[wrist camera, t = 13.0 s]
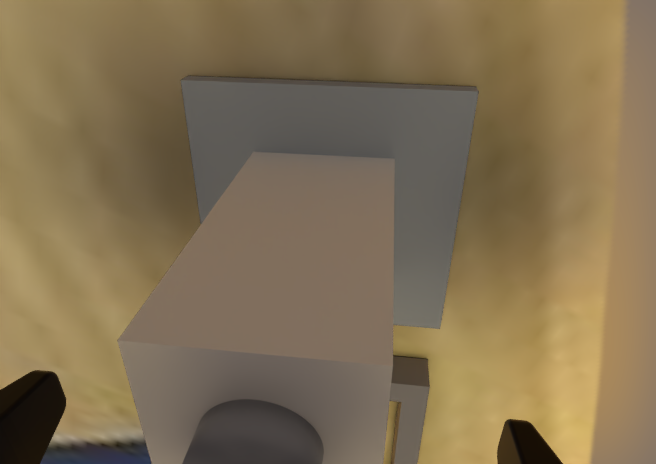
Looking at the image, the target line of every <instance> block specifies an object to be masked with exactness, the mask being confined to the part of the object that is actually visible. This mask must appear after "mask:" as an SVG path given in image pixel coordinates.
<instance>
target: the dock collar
mask: <svg viewBox="0 0 656 464" xmlns="http://www.w3.org/2000/svg"><path fill="white" fill-rule="evenodd" d="M429 388H430V385H429V372H428V359H419V358H409V357H398V356H393V370H392V380H391V390H390V400H389V401H397V402H398V407H397V415H396V424H395V432H394V441H393V449H392V458H391V464H417V462H418V456H419V450H420V444H421V437H422V431H423V425H424V419H425V413H426V406H427V400H428V394H429Z"/></svg>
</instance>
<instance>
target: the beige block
mask: <svg viewBox="0 0 656 464" xmlns="http://www.w3.org/2000/svg"><path fill="white" fill-rule="evenodd" d="M394 177H395V159H391V158H371V157H351V156H331V155H310V154H290V153H270V152H253V153H252V154H251V156H250V157H249V158H248V160H247V161H246V163H245V164H244V165H243V167H242V168H241V169H240V171H239V172H238V174H237V175H236V176H235V178H234V179H233V181H232V182H231V183H230V185H229V186H228V188H227V189H226V190H225V192H224V193H223V194H222V196H221V197H220V199H219V200H218V201H217V203H216V204H215V206H214V207H213V208H212V210H211V211H210V213H209V214H208V215H207V217H206V218H205V220H204V221H203V222H202V224H201V225H200V226H199V228H198V229H197V231H196V232H195V233H194V235H193V236H192V238H191V239H190V240H189V242H188V243H187V245H186V246H185V247H184V249H183V250H182V251H181V253H180V254H179V256H178V257H177V258H176V260H175V261H174V263H173V264H172V265H171V267H170V268H169V270H168V271H167V272H166V274H165V275H164V277H163V278H162V279H161V281H160V282H159V283H158V285H157V286H156V288H155V289H154V290H153V292H152V293H151V295H150V296H149V297H148V299H147V300H146V302H145V303H144V304H143V306H142V307H141V309H140V310H139V311H138V313H137V314H136V315H135V317H134V318H133V320H132V321H131V322H130V324H129V325H128V327H127V328H126V329H125V331H124V332H123V334H122V335H121V336H120V338H119V339H118V340H117V341H118V344H119V348H120V351H121V355H122V359H123V362H124V366H125V369H126V373H127V376H128V380H129V384H130V387H131V391H132V394H133V398H134V402H135V405H136V409H137V412H138V416H139V419H140V423H141V427H142V430H143V434H144V437H145V441H146V444H147V448H148V452H149V455H150V459H151V462H152V464H383V460H384V450H385V440H386V430H387V420H388V410H389V400H390V390H391V380H392V370H393V294H394Z"/></svg>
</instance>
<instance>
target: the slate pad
mask: <svg viewBox="0 0 656 464" xmlns="http://www.w3.org/2000/svg"><path fill="white" fill-rule="evenodd" d="M181 86H182V93H183V100H184V108H185V115H186V122H187V129H188V136H189V143H190V151H191V158H192V165H193V172H194V179H195V186H196V194H197V201H198V208H199V215H200V222H201V224H202V222H203V221H204V220H205V218H206V217H207V215H208V214H209V213H210V211H211V210H212V208H213V207H214V206H215V204H216V203H217V201H218V200H219V199H220V197H221V196H222V194H223V193H224V192H225V190H226V189H227V188H228V186H229V185H230V183H231V182H232V181H233V179H234V178H235V176H236V175H237V174H238V172H239V171H240V169H241V168H242V167H243V165H244V164H245V163H246V161H247V160H248V158H249V157H250V156H251V154H252V153H253V152H270V153H290V154H310V155H331V156H351V157H371V158H391V159H395V177H394V294H393V325H401V326H413V327H424V328H436V329H440V326H441V320H442V314H443V308H444V302H445V295H446V289H447V283H448V277H449V271H450V265H451V258H452V252H453V246H454V240H455V234H456V228H457V222H458V215H459V209H460V203H461V197H462V191H463V185H464V179H465V172H466V166H467V160H468V154H469V148H470V142H471V135H472V129H473V123H474V117H475V111H476V105H477V99H478V92H479V91H478V90H477V88H476V87H473V86H446V85H419V84H393V83H366V82H339V81H313V80H286V79H259V78H233V77H206V76H187V77H185V78H183V79H182V80H181Z"/></svg>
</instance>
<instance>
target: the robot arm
mask: <svg viewBox="0 0 656 464" xmlns="http://www.w3.org/2000/svg"><path fill="white" fill-rule="evenodd" d="M65 407H66V397H65V394H64V392H63V389H62V387H61V384H60V381H59V379H58V376H57V375H56V374H55V373H54V372H51V371H41V370H35V371H32V372H30V373H28V374H26V375H25V376H23V377H21V378H20V379H18V380H16V381H15V382H13V383H11V384H10V385H8V386H6V387H5V388H3V389H1V390H0V464H40V463H41V460H42V458H43V456H44V454H45V452H46V450H47V447H48V445H49V443H50V441H51V439H52V437H53V435H54V432H55V430H56V428H57V426H58V424H59V422H60V419H61V417H62V415H63V413H64V410H65ZM497 460H498V464H563V463H562V462H561V461H560V459H559V458H558V457H557V455H556V454H555V453H554V452H553V450H552V449H551V448H550V447H549V445H548V444H547V443H546V441H545V440H544V439H543V438H542V436H541V435H540V434H539V433H538V431H537V430H536V429H535V427H534V426H533V425H532V424H531V423H530V422H528V421H523V420H513V419H508V420H507V421H506V422H505V424H504V427H503V431H502V434H501V438H500V441H499V445H498V450H497Z"/></svg>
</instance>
